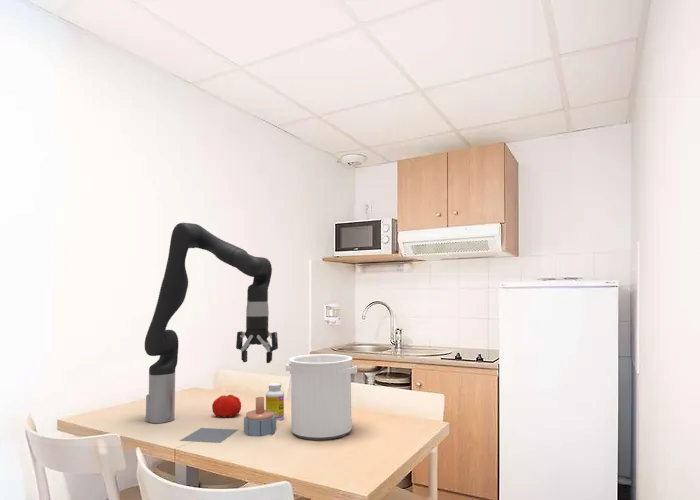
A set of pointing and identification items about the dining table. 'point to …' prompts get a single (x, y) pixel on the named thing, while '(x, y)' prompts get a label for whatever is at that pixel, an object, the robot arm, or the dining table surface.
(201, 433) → the mat
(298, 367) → the bucket
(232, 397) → the tomato
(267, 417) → the lid
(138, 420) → the dining table surface
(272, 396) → the supplement bottle
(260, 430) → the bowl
